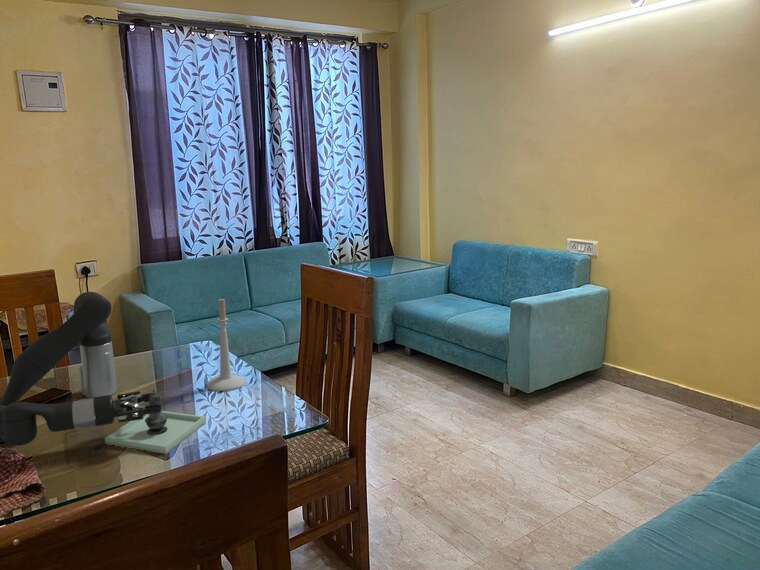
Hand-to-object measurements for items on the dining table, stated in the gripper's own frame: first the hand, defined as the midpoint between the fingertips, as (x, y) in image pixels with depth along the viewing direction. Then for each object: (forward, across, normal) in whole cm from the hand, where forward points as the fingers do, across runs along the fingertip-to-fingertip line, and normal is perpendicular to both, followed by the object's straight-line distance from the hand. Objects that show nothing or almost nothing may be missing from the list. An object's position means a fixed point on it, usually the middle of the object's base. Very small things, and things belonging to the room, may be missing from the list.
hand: (159, 401), depth 156 cm
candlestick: (+23, -29, -9) cm, 38 cm away
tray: (-1, 0, -9) cm, 9 cm away
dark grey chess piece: (-1, 0, -9) cm, 9 cm away
